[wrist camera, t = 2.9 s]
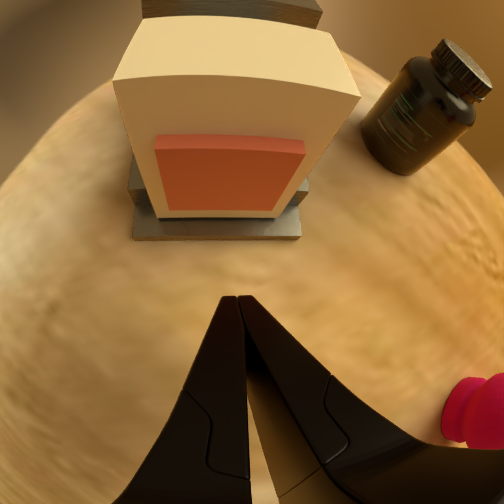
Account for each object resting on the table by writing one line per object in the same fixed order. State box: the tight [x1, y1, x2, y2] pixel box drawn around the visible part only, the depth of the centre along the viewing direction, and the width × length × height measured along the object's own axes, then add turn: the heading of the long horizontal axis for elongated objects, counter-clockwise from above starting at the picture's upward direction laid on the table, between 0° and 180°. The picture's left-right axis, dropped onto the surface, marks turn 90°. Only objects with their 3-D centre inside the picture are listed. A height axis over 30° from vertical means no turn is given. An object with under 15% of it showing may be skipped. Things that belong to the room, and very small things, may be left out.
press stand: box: [127, 0, 323, 241], centre depth 13 cm, size 13×10×10 cm
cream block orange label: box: [112, 16, 361, 218], centre depth 11 cm, size 5×7×10 cm, turn 93°
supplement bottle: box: [362, 38, 493, 175], centre depth 16 cm, size 7×7×12 cm
